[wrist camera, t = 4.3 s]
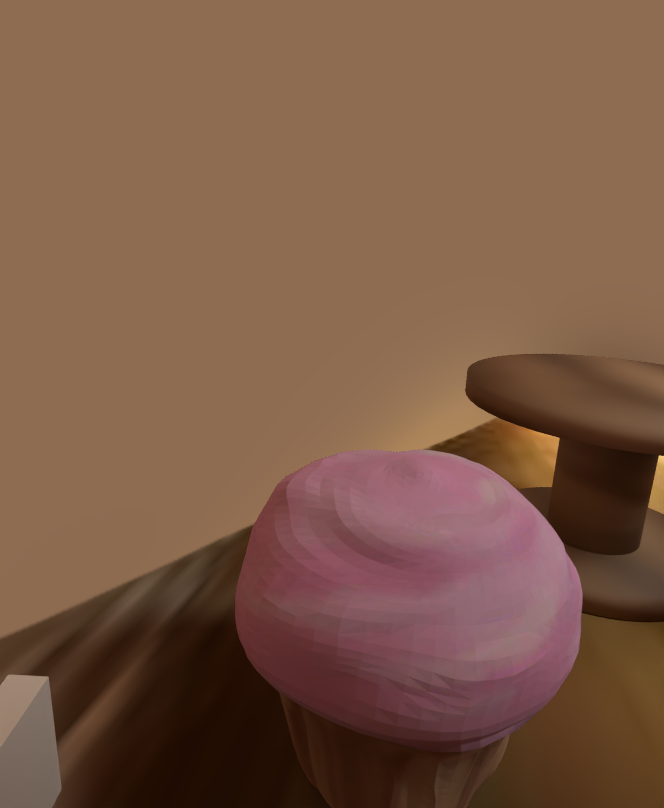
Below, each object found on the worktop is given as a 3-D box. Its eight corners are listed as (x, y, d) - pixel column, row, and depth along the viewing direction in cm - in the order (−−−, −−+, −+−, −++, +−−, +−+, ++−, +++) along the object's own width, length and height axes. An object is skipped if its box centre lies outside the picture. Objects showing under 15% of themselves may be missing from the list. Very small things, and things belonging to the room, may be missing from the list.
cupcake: (438, 1057, 11) (500, 616, 9) (174, 784, 17) (159, 458, 14) (588, 764, 18) (650, 460, 15) (364, 635, 23) (379, 393, 21)
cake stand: (599, 485, 39) (624, 351, 36) (829, 613, 26) (891, 420, 23) (406, 507, 34) (418, 357, 32) (566, 674, 22) (608, 445, 19)
